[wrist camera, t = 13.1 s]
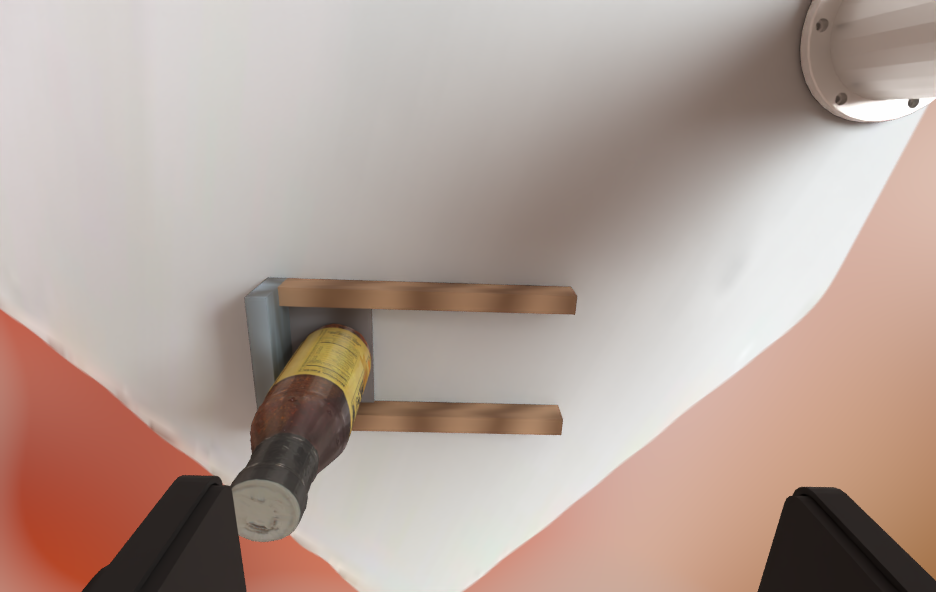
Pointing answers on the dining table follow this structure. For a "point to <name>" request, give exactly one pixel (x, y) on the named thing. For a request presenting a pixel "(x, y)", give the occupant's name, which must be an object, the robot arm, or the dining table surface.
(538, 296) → the wooden u-shaped frame
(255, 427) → the sauce bottle
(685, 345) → the dining table surface
